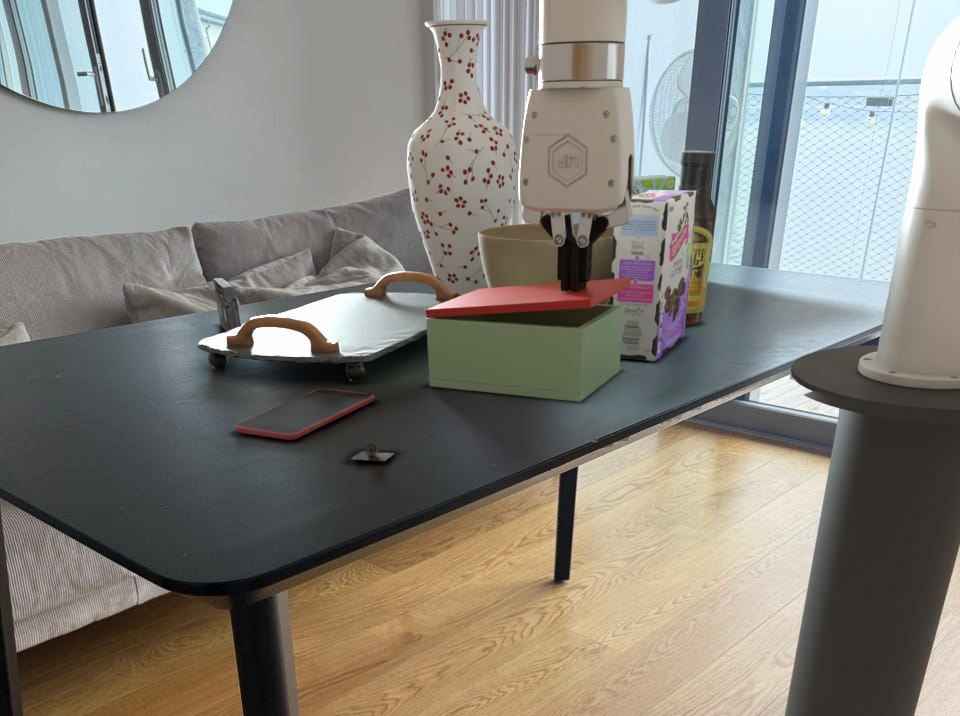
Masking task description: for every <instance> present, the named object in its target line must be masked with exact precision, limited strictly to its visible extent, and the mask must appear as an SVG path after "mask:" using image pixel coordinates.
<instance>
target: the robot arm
mask: <svg viewBox="0 0 960 716" xmlns="http://www.w3.org/2000/svg"><path fill="white" fill-rule="evenodd" d="M646 1H647V2H649V3H653V4H656V5H670V4H674V3H677V2H679V1H680V0H646ZM628 2H629V1H628V0H539V27H538V28H539V30H538V31H539V33H538V35H539V36H538V37H539V38H538V45H539V46H537V47H536V54H533V56H526V57H525V59H524V71H525V74H526V75H533V76H536V82H538V88H536V89H534V88H533V89H529V91H528V96H527V99H526V100H527V101H526V105H525V112H524V119H523V127H522V135H521V142H520V143H521V145H520V156H519V169H518V200H519V203H520V205H521V206H522V207H523V209H522V213H521V219H522V220H523V221H524V222H526V223H528V224H535V225H538V226H542V227H543V228H544V229H545V230H546V231H547V233H548V234H549V235H550V236H551V238H552V239H553V243H554V245H555V246H557V247H558V261H557V279H558V280H561V291H569V290H571V291H572V292H578V291H580V290H582V289H584V288H586V285H587V282H589V281H590V279H591V269H592V246H593V244H595V243H596V241H597V239H598V238H599V237H600V236H601V235H602V234H603V233H604V232H605V231H606V230H607V229H609V228H613V227H617V226H621V225H625V224H628V223H630V222H631V221H632V211H631V204H630V202H631V199H632V195H633V188H634V176H635V127H634V114H633V102H632V93H631V87H627V86H624V75H625V60H626V59H625V57H626V37H627V21H628ZM919 87H920V88H919V95H918V110H917V111H918V114H917V115H918V116H917V128H916V129H917V130H916V131H917V132H916V143H915V150H914V158H913V163H912V169H911V175H910V181H909V186H908V192H907V196H906V202H905V206H904V210H903V215H902V220H901V226H900V231H899V236H898V240H897V241H898V242H897V246H896V252H895V256H894V262H893V267H892V271H891V273H892V274H891V277H890V283H889V287H888V288H889V289H888V293H887V298H886V304H885V308H884V314H883V319H882V323H881V329H880V334H879V339H878V344H877V345H878V349H877V352H873V353H869V354H866V355H864V356H862V357H861V358H860V360H859V364H858V371H859V372H860V373H861V374H862V375H863V376H865V377H867V378H869V379H872V380H875V381H878V382H882V383H886V384H890V385H895V386H902V387H908V388H918V389H932V390H956V389H960V14H959V15H958V16H957V17H955V18H954V19H953V20H952V21H951V22H950V23H949V24H948V25H947V26H946V27H945V28H944V29H943V31H942V32H941V33H940V35H939V36H938V37H937V39H936V40H935V42H934V43H933V45H932V48H931V49H930V50H929V53H928V56H927V59H926V61H925V64H924V68H923V70H922V75H921V82H920V86H919ZM612 210H614V211H613V212H612V213H611V214H607V215H603V216H602V213H604V212H609V211H612ZM572 212H573V213H581V216H580V222H579V228H578V234H577V239H576V238H575V236H574V225H573V215H572ZM575 239H576V240H575Z"/></svg>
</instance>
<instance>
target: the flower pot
mask: <svg viewBox="0 0 960 716" xmlns="http://www.w3.org/2000/svg"><path fill="white" fill-rule="evenodd" d="M573 225H574V236H575V238H576V239H577V234H578V228H579V224H577V223H573ZM613 233H614V227H613V228H609V229H607V230H606V231H605V232H604V233H603V234H602V235H601V236H600V237H599V238H598V239H597V241H596V243H595V244H593V246H592V269H591V279H590V281H591V280H605V279H611V273H612V252H613ZM576 239H575V240H576ZM478 242H479V250H480V256H481V261H482V266H483V270H484V274H485V277H486V280H487V284H488V286H489V288H496V287H510V286H524V285H537V284H551V283H561V280H558V279H557V261H558V247H557V246H555V245H554V243H553V239H552V238H551V236H550V235H549V234H548V233H547V231H546V230H545V229H544V228H543V227H542V226H538V225H535V224H532V223H519V224H509V225H505V226H497V227H490V228H486V229H482V230H480V231H478ZM609 302H610V298H608V299H606V300H604V301H602V302H601V303H599V304H607V305H608V303H609Z"/></svg>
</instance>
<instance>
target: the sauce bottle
mask: <svg viewBox="0 0 960 716" xmlns="http://www.w3.org/2000/svg"><path fill="white" fill-rule="evenodd" d="M680 153H681V154H680V159H679V163H680V175H679V184H678V186H677V191H696V202H695V215H694V227H693V239H692V251H691V263H690V275H689V287H688V300H687V311H686V323H685V327H689V326H690V327H691V326H695V325H696V324H699V323H700V322H701V321H702V318H703V313H704V310H705V304H706V294H707V286H708V278H709V272H710V265H711V257H712V250H713V243H714V230H715V223H716V217H717V211H716V207H715V205H714V201H713V200H712V197H711V194H710V192H711V179H712V172H713V167H714V165H715V161H716V151H713V150H682V151H681V152H680Z"/></svg>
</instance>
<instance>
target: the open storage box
mask: <svg viewBox="0 0 960 716" xmlns="http://www.w3.org/2000/svg"><path fill="white" fill-rule="evenodd" d="M622 317H623V305H607V304H597V305H595V306H593V307H592V308H583V309H566V310H550V311H533V312H516V313H500V314H483V315H466V316H450V317H433V318H427V319H426V322H427V335H426V338H427V339H426V341H427V359H428V360H427V361H428V378H429V381H428V382H429V387H430V388H431V387H434V388H441V389H442V388H443V389H452V390H462V391H471V392H480V393H481V392H482V393H490V394H500V395H501V394H502V395H510V396H519V397H527V398H539V399H547V400H548V399H549V400H558V401H567V402H569V401H570V402H578V403H580V402H582V401H584V399H586V398H587V397H588V396H590V395H591V394H592V393H594V392H595V391H597V389H598V388H600V387H601V386H602V385H604V384H605V383H606V382H608V381H609V380H610V379H612V378H613V377H614V376H616V375H617V374H618V373H619V372H620V371H621V370H620V369H621V358H620V354H621V336H622Z"/></svg>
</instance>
